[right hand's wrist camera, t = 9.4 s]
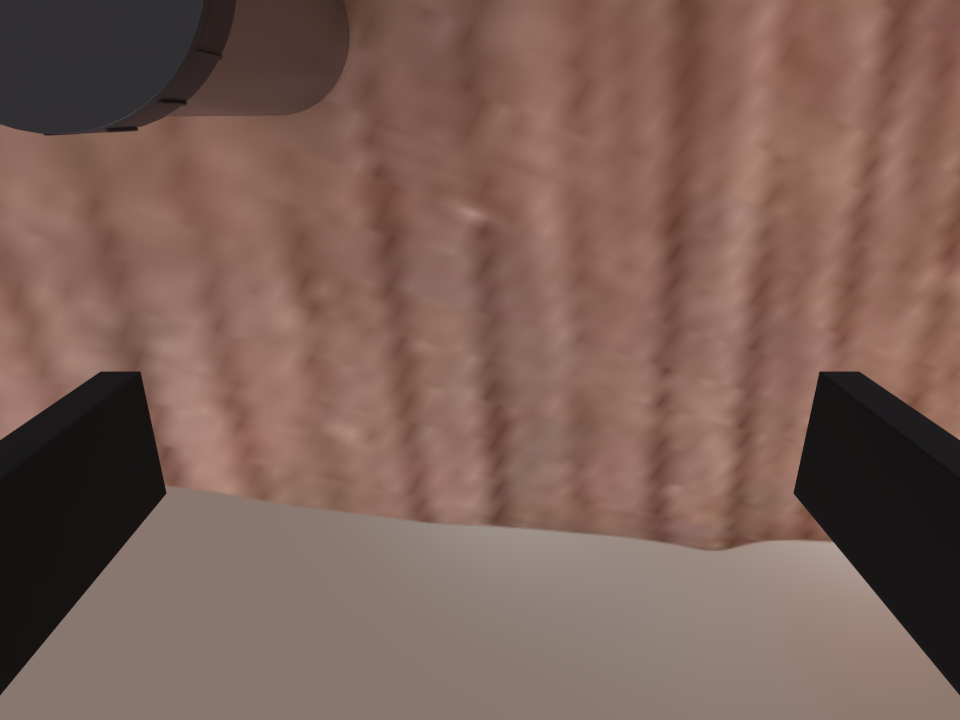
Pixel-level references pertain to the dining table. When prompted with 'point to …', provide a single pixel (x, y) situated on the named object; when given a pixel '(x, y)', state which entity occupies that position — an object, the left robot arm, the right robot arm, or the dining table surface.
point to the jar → (275, 59)
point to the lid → (105, 61)
